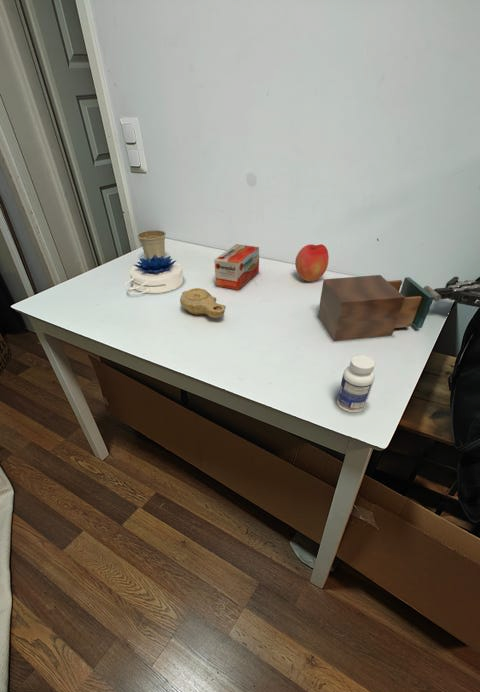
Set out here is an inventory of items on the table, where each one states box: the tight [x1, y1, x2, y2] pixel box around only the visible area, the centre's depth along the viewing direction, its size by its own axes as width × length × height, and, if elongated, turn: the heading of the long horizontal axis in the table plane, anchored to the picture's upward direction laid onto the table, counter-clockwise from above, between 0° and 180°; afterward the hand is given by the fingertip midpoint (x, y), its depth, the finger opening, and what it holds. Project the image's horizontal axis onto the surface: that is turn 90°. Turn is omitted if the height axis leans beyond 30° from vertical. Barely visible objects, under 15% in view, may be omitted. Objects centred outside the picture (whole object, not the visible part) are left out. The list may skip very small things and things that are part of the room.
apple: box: [294, 243, 330, 282], centre depth 102 cm, size 10×10×10 cm
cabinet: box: [317, 274, 405, 342], centre depth 83 cm, size 15×13×10 cm
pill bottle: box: [336, 354, 376, 413], centre depth 62 cm, size 5×5×10 cm
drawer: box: [387, 276, 442, 329], centre depth 84 cm, size 18×11×8 cm, turn 99°
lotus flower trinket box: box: [124, 255, 184, 295], centre depth 102 cm, size 7×16×20 cm
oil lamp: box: [179, 287, 227, 319], centre depth 90 cm, size 11×14×5 cm
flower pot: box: [136, 229, 167, 260], centre depth 116 cm, size 9×9×9 cm
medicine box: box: [213, 243, 260, 291], centre depth 104 cm, size 15×8×8 cm, turn 154°
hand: (434, 294), depth 83 cm, fingers closed
